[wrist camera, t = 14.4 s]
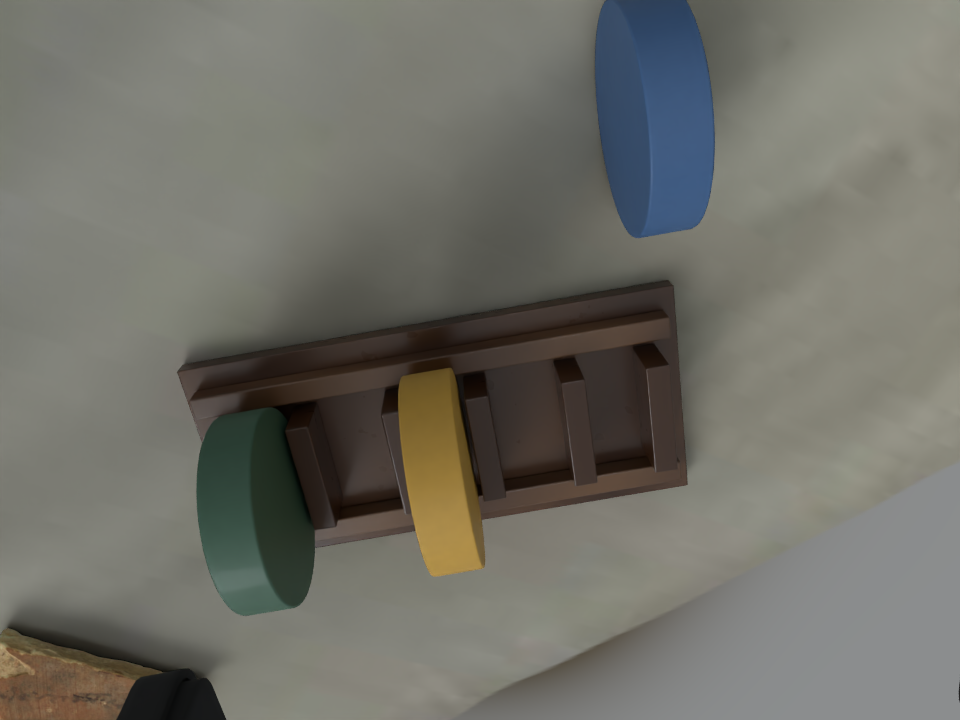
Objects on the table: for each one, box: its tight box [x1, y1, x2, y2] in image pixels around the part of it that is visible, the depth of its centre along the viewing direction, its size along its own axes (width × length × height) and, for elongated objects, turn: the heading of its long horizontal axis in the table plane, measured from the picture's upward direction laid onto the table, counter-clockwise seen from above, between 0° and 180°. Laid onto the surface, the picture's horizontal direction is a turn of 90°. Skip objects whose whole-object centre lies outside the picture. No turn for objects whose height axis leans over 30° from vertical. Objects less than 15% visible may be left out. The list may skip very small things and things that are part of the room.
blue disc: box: [595, 0, 715, 238], centre depth 26 cm, size 2×8×8 cm, turn 10°
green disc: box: [197, 407, 315, 616], centre depth 30 cm, size 2×8×8 cm, turn 10°
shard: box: [0, 628, 200, 720], centre depth 39 cm, size 11×8×2 cm
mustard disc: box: [398, 368, 485, 577], centre depth 30 cm, size 2×8×8 cm, turn 10°
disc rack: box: [177, 280, 688, 548], centre depth 33 cm, size 22×10×3 cm, turn 100°
